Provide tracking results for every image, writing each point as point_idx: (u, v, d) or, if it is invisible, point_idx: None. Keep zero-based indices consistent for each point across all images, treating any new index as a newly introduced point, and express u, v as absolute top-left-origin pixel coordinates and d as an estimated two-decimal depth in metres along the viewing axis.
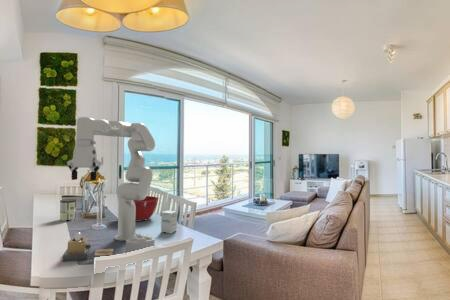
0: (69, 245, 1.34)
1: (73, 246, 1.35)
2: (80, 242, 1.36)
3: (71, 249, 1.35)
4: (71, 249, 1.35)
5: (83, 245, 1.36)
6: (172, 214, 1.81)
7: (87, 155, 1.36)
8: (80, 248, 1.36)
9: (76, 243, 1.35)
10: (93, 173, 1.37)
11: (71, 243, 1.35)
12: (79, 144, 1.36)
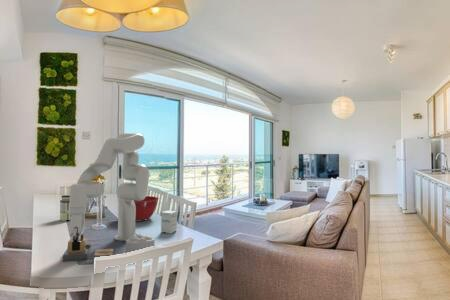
0: (69, 245, 1.35)
1: None
2: (80, 242, 1.36)
3: (71, 249, 1.35)
4: (71, 249, 1.35)
5: (83, 245, 1.36)
6: (172, 214, 1.81)
7: (84, 220, 1.43)
8: (80, 247, 1.36)
9: None
10: None
11: (71, 243, 1.35)
12: (86, 211, 1.40)
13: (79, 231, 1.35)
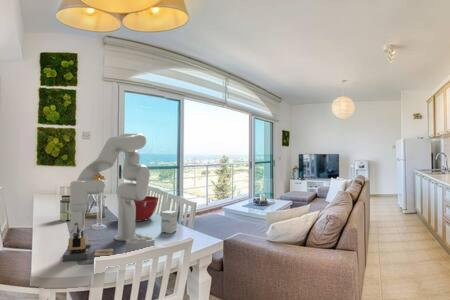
0: (70, 241, 1.35)
1: None
2: (81, 239, 1.36)
3: (71, 245, 1.35)
4: None
5: (84, 242, 1.37)
6: (172, 214, 1.81)
7: None
8: (81, 244, 1.36)
9: None
10: None
11: (72, 239, 1.35)
12: None
13: (79, 227, 1.35)
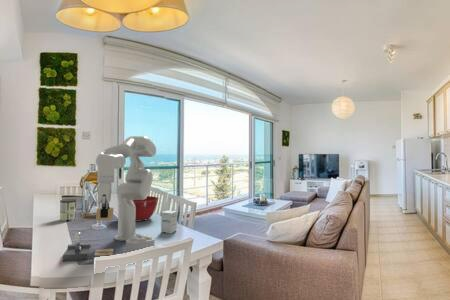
0: (98, 212, 1.40)
1: None
2: (108, 210, 1.42)
3: (99, 216, 1.40)
4: (99, 216, 1.40)
5: (111, 213, 1.42)
6: (172, 214, 1.81)
7: None
8: (108, 215, 1.41)
9: None
10: None
11: (100, 210, 1.40)
12: (113, 180, 1.45)
13: (107, 199, 1.40)
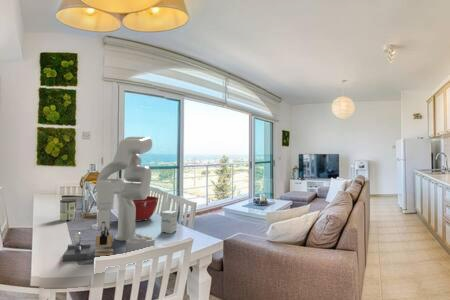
0: (97, 239, 1.40)
1: None
2: (107, 236, 1.41)
3: (98, 243, 1.40)
4: (99, 243, 1.40)
5: (110, 239, 1.41)
6: (172, 214, 1.81)
7: None
8: (107, 242, 1.41)
9: None
10: None
11: (99, 237, 1.40)
12: None
13: (106, 226, 1.40)
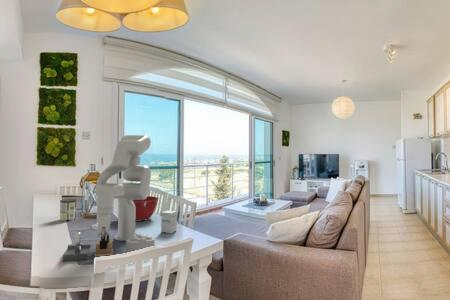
0: (97, 247, 1.40)
1: None
2: (107, 244, 1.41)
3: (98, 250, 1.40)
4: (99, 251, 1.40)
5: (110, 247, 1.42)
6: (172, 214, 1.81)
7: None
8: (107, 249, 1.41)
9: None
10: None
11: (99, 245, 1.40)
12: None
13: (107, 231, 1.40)
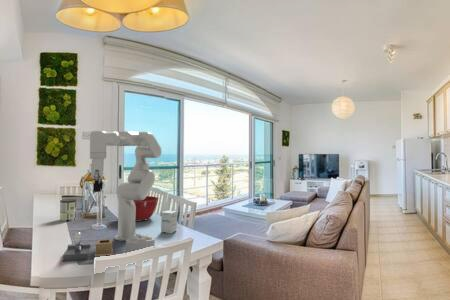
0: (97, 247, 1.40)
1: (100, 248, 1.40)
2: (107, 244, 1.41)
3: (98, 250, 1.40)
4: (99, 251, 1.40)
5: (110, 247, 1.42)
6: (172, 214, 1.81)
7: None
8: (107, 249, 1.41)
9: (104, 245, 1.41)
10: None
11: (99, 245, 1.40)
12: None
13: (100, 174, 1.43)
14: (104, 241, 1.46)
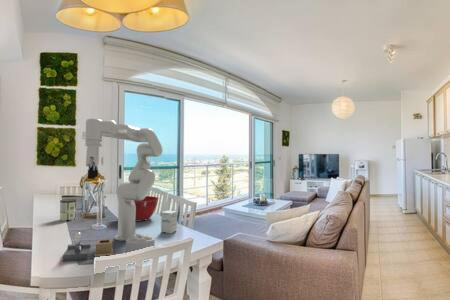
0: (97, 247, 1.40)
1: (100, 248, 1.40)
2: (107, 244, 1.41)
3: (98, 250, 1.40)
4: (99, 251, 1.40)
5: (110, 247, 1.42)
6: (172, 214, 1.81)
7: None
8: (107, 249, 1.41)
9: (104, 245, 1.41)
10: None
11: (99, 245, 1.40)
12: (101, 145, 1.49)
13: (95, 161, 1.43)
14: (104, 241, 1.46)
